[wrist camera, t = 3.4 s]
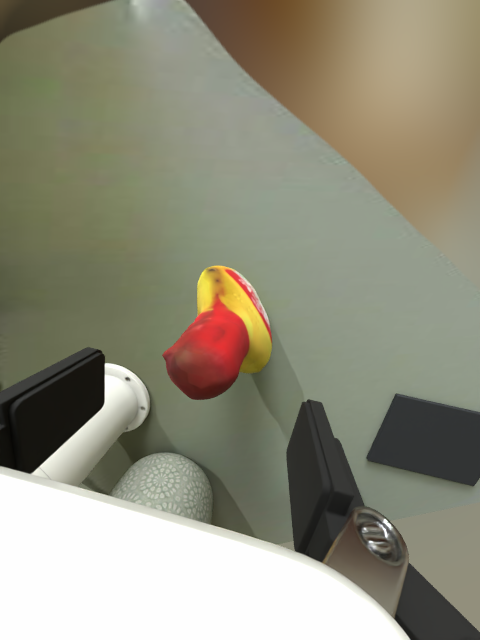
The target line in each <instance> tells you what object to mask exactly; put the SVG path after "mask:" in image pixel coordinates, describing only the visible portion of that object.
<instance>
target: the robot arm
mask: <svg viewBox="0 0 480 640" xmlns="http://www.w3.org/2000/svg"><path fill="white" fill-rule="evenodd" d="M149 410H150V397H149V394H148V391H147V389H146V387H145V385H144V384H143V383H142V381H141V380H140V379H139V378H138V377H137V376H136V375H135V374H134V373H132V372H131V371H129V370H128V369H126V368H124V367H122V366H119V365H115V364H109V363H105V356H104V354H102V351H101V350H98V349H94V348H89V347H87V348H85V349H83V350H81V351H79V352H77V353H75V354H73V355H71V356H69V357H67V358H65V359H63V360H61V361H59V362H57V363H56V364H54V365H52V366H50V367H48V368H46V369H44V370H42V371H40V372H38V373H36V374H34V375H32V376H30V377H28V378H26V379H24V380H23V381H21V382H19V383H17V384H15V385H13V386H11V387H9V388H7V389H5V390H3V391H1V392H0V640H480V632H479V631H478V630H477V629H476V628H475V627H474V626H473V625H472V624H471V623H470V622H469V621H468V620H467V619H465V618H464V616H462V614H461V613H460V612H459V611H458V610H457V609H455V608H454V607H453V606H452V605H451V604H450V603H449V602H448V601H447V600H446V599H445V598H444V597H443V596H442V595H441V594H440V593H439V592H438V591H437V590H436V589H435V588H434V587H433V586H432V585H431V584H430V583H429V582H428V581H427V580H426V579H425V578H424V577H423V576H422V575H421V574H420V573H419V572H418V571H417V570H416V569H415V568H414V567H413V566H412V565H411V564H410V563H409V553H408V550H407V546H406V544H405V542H404V540H403V538H402V536H401V534H400V533H399V532H398V530H397V529H396V528H395V526H394V525H393V524H392V523H391V522H390V521H389V520H388V519H387V518H386V517H385V516H383V515H382V514H381V513H379V512H378V511H376V510H374V509H372V508H370V507H365V506H364V503H363V501H362V498H361V495H360V493H359V490H358V488H357V485H356V482H355V480H354V477H353V474H352V472H351V469H350V466H349V464H348V461H347V458H346V456H345V453H344V450H343V448H342V445H341V443H340V441H339V440H338V439H337V438H334V436H333V433H332V430H331V427H330V424H329V422H328V419H327V416H326V413H325V410H324V407H323V405H322V403H321V402H318V401H313V400H309V399H308V400H307V402H302V404H301V408H300V411H299V414H298V417H297V420H296V423H295V426H294V429H293V432H292V435H291V438H290V441H289V445H288V448H287V468H288V480H289V492H290V504H291V515H292V527H293V539H294V548H295V551H293V550H290V549H287V548H285V547H282V546H279V545H276V544H273V543H270V542H266V541H263V540H260V539H257V538H253V537H250V536H247V535H244V534H240V533H237V532H234V531H231V530H227V529H224V528H220V527H217V526H213V525H210V524H206V523H203V522H199V521H196V520H192V519H189V518H186V517H182V516H179V515H175V514H172V513H168V512H165V511H161V510H158V509H154V508H151V507H147V506H143V505H140V504H136V503H133V502H129V501H126V500H122V499H118V498H115V497H111V496H108V495H104V494H101V493H97V492H93V491H90V490H86V489H83V488H79V485H80V484H81V483H82V482H83V481H84V479H85V478H86V477H87V476H88V474H89V473H90V472H91V471H92V469H93V468H94V467H95V466H96V465H97V463H98V462H99V461H100V460H101V458H102V457H103V456H104V455H105V453H106V452H107V451H108V450H109V449H110V447H111V446H112V445H113V444H114V442H115V441H116V440H117V439H118V438H119V436H120V435H121V434H122V433H123V432H127V431H131V430H134V429H136V428H137V427H139V426H140V425H141V424H142V423H143V422H144V420H145V419H146V417H147V416H148V413H149Z"/></svg>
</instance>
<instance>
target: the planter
mask: <svg viewBox="0 0 480 640" xmlns="http://www.w3.org/2000/svg"><path fill="white" fill-rule="evenodd" d="M108 496H111V497H115V498H118V499H122V500H126V501H129V502H133V503H136V504H140V505H143V506H147V507H151V508H154V509H158V510H161V511H165V512H168V513H172V514H175V515H179V516H182V517H186V518H189V519H192V520H196V521H199V522H203V523H206V524H210V525H211V520H212V512H213V494H212V489H211V485H210V483H209V480H208V478H207V476H206V475H205V473H204V472H203V471H202V469H201V468H200V467H199V466H198V465H197V464H196V463H195V462H193V461H192V460H190V459H189V458H187V457H185V456H182V455H179V454H176V453H168V452H163V453H155V454H151V455H148V456H146V457H144V458H142V459H140V460H138V461H137V462H136V463H134V464H133V465H132V466H131V467H130V468H129V469H128V470H127V471H126V472H125V473H124V475H123V476H122V477H121V478H120V480H119V481H118V482H117V484H116V485H115V487H114V488H113V489H112V491H111V492H110V494H109V495H108Z"/></svg>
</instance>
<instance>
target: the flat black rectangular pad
mask: <svg viewBox="0 0 480 640" xmlns="http://www.w3.org/2000/svg"><path fill="white" fill-rule="evenodd" d="M367 459H368V461H373V462H377V463H381V464H385V465H389V466H393V467H397V468H401V469H405V470H410V471H414V472H418V473H422V474H426V475H430V476H434V477H438V478H442V479H447V480H451V481H455V482H459V483H463V484H467V485H471V486H474V485H475V484H476V483H477V481H478V480H479V478H480V412H475V411H471V410H466V409H462V408H458V407H453V406H449V405H444V404H440V403H435V402H431V401H426V400H422V399H418V398H413V397H409V396H404V395H400V394H396V395H395V397H394V399H393V401H392V403H391V405H390V408H389V410H388V412H387V414H386V416H385V418H384V421H383V423H382V425H381V427H380V429H379V431H378V434H377V436H376V438H375V440H374V442H373V444H372V447H371V449H370V451H369V453H368V455H367Z"/></svg>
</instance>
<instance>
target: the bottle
mask: <svg viewBox="0 0 480 640" xmlns="http://www.w3.org/2000/svg"><path fill="white" fill-rule="evenodd" d="M197 309H198V317H197V318H196V319H195V322H194V323H192V324H191V325H190V326H189V327H188V329H187V330H186V331H185V332H184V333H183V334H182V336H181V337H180V338H179V340H178V341H177V342H176V343H175V344H174V345H173V346H172V347H171V348H169V349H168V350H166V351H165V352H164V354H163V355H162V356H163V357H164V359H165V361H166V368H167V372H168V375H169V376H170V378H171V380H172V382H173V383H174V384H175V385H176V386H177V387H178V388H179V389H180V390H181V391H182V392H183V393H185V394H186V395H187V396H188V397H189V398H191V399H194V400H204V399H210V398H214V397H216V396H218V395H220V394H222V393H223V392H225V391H226V390H227V389H229V388H230V387H231V386H232V384H233V383H234V382H235V380H236V379H237V377H238V374H239V372H243V373H255V372H260V371H261V370H262V368H263V367H264V366H265V365H266V364H267V362H268V361H269V358H270V355H271V350H272V337H271V331H270V322H269V319H268V316H267V314H266V312H265V309H264V307H263V306H262V304H261V302H260V299H259V297H258V295H257V293H256V291H255V290H254V288H253V287H252V286H251V284H250V283H249V282H248V281H247V280H246V279H245V278H244V277H243V276H242V275H241V274H239V273H238V272H237V271H235V270H233V269H231V268H228V267H224V266H213V267H209V268H207V269H205V270H204V271H203V272H202V274H201V276H200V279H199V281H198V286H197Z"/></svg>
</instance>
